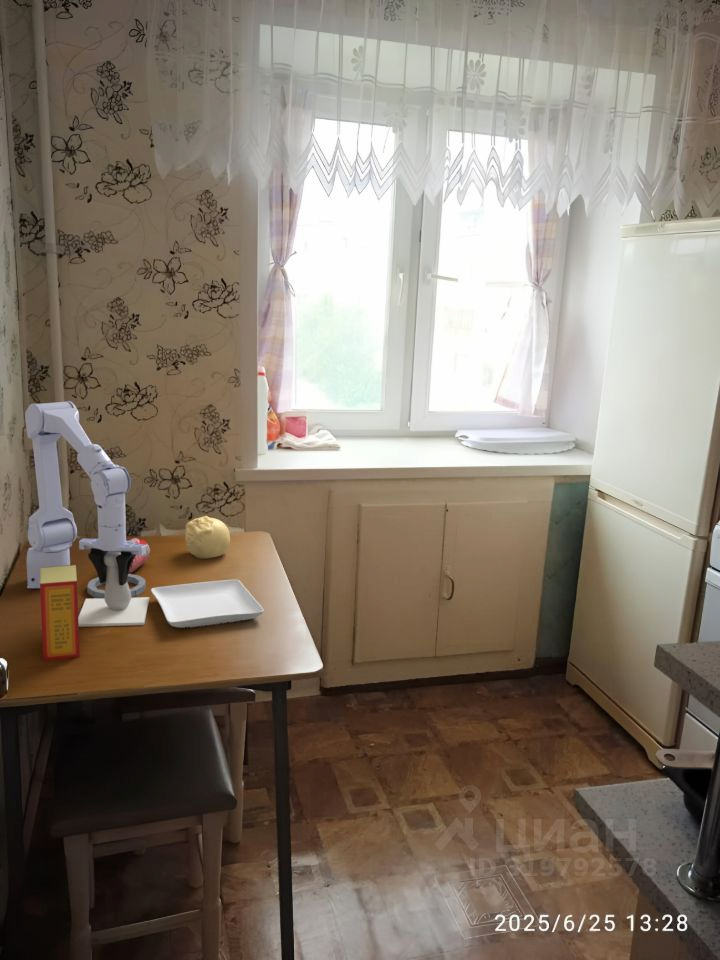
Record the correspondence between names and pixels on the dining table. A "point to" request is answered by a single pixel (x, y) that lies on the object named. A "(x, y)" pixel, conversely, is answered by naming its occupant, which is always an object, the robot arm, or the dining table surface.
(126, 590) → the salt shaker
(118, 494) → the robot arm
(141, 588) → the collar
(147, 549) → the soda can
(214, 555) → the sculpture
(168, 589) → the salad plate
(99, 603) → the mat
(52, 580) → the baking soda box
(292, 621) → the dining table surface
